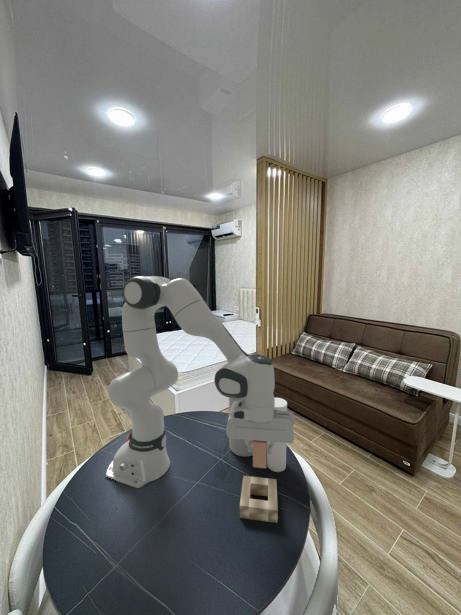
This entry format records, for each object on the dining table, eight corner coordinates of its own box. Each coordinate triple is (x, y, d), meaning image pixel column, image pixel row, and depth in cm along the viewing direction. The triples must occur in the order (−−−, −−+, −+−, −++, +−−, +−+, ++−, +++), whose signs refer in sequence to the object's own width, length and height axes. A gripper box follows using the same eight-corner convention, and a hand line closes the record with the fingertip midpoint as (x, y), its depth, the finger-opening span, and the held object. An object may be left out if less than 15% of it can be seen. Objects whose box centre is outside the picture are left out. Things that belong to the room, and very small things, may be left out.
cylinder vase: (265, 448, 101) (265, 391, 98) (243, 462, 93) (243, 401, 90) (244, 433, 110) (244, 381, 107) (223, 445, 102) (222, 389, 99)
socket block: (239, 517, 71) (239, 505, 71) (243, 486, 82) (243, 475, 82) (277, 523, 70) (277, 510, 69) (276, 490, 80) (276, 479, 80)
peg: (252, 467, 72) (252, 442, 72) (253, 457, 76) (253, 433, 75) (266, 468, 72) (266, 443, 71) (266, 458, 76) (266, 434, 75)
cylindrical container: (286, 473, 87) (287, 408, 85) (266, 470, 89) (267, 406, 86) (285, 459, 94) (286, 398, 91) (267, 456, 96) (267, 396, 93)
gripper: (294, 405, 74) (293, 447, 75) (228, 401, 77) (228, 442, 78) (296, 417, 68) (295, 462, 69) (224, 412, 71) (225, 456, 72)
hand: (259, 451), depth 74 cm, fingers closed on peg, 4 cm apart
